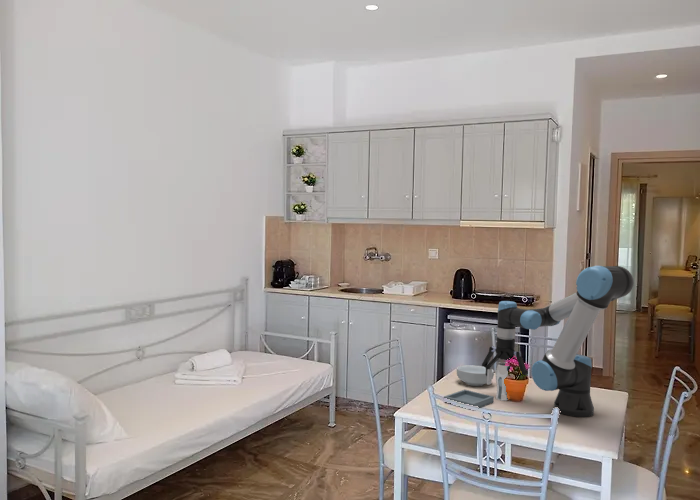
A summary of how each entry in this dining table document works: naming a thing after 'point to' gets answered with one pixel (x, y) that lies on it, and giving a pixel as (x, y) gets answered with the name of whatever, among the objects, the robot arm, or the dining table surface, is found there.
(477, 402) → the tray
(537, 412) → the dining table surface
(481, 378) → the cereal bowl
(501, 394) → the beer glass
